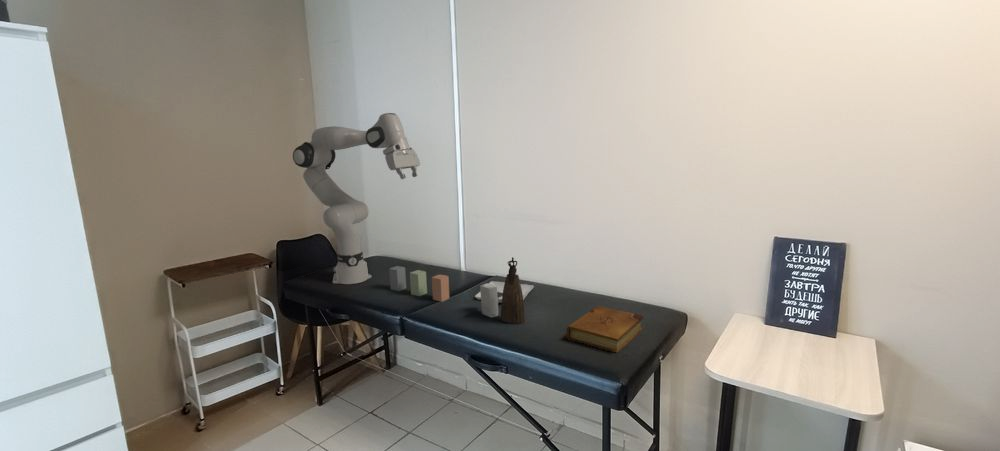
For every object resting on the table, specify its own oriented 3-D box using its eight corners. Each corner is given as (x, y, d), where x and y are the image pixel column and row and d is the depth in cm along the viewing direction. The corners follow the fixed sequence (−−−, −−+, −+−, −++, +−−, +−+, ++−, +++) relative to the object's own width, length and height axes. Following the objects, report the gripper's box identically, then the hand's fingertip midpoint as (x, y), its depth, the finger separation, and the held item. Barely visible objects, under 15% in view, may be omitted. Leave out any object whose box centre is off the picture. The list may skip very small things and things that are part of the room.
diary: (595, 319, 180) (595, 305, 179) (642, 330, 169) (643, 315, 168) (566, 340, 162) (566, 325, 161) (617, 354, 151) (617, 338, 150)
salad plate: (521, 308, 192) (521, 300, 192) (474, 303, 199) (473, 295, 198) (534, 291, 212) (534, 284, 211) (491, 287, 219) (490, 280, 218)
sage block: (418, 291, 211) (417, 270, 209) (427, 293, 209) (425, 271, 207) (411, 294, 207) (409, 272, 205) (419, 296, 205) (418, 274, 203)
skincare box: (499, 315, 185) (498, 286, 182) (490, 318, 182) (489, 288, 180) (489, 311, 189) (488, 282, 187) (480, 313, 187) (479, 284, 184)
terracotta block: (440, 296, 204) (439, 274, 202) (449, 298, 201) (448, 276, 199) (432, 299, 200) (431, 277, 198) (441, 301, 197) (440, 279, 195)
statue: (521, 315, 184) (520, 255, 178) (526, 323, 177) (525, 261, 170) (499, 318, 182) (498, 257, 176) (504, 326, 175) (502, 263, 169)
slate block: (398, 286, 219) (397, 265, 217) (406, 288, 216) (404, 267, 214) (390, 289, 215) (389, 268, 213) (398, 291, 212) (396, 270, 210)
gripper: (407, 149, 219) (416, 177, 220) (380, 151, 200) (390, 182, 201) (417, 145, 216) (427, 173, 217) (391, 146, 198) (402, 177, 198)
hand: (409, 177), depth 209 cm, fingers open, 8 cm apart
